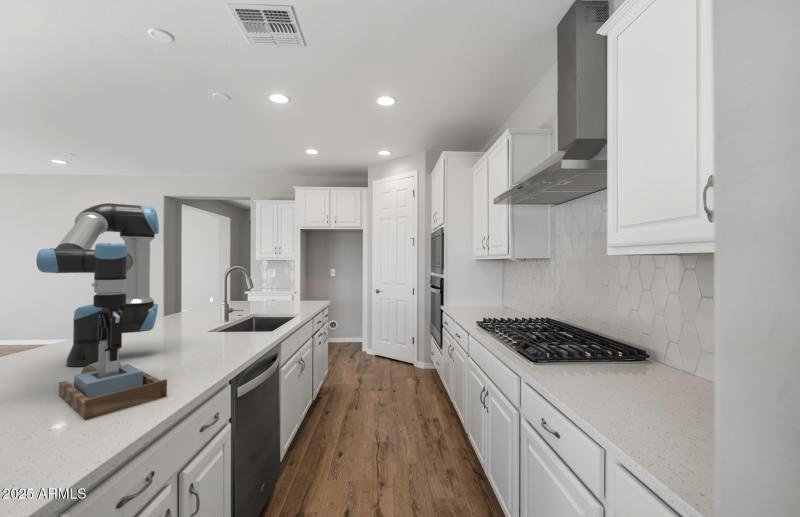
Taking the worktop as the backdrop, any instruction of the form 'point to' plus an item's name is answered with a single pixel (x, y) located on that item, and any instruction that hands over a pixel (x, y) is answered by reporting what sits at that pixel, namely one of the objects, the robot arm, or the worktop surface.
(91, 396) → the blue recessed block
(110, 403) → the bay
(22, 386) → the worktop surface
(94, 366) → the ceramic mug
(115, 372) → the beverage can
